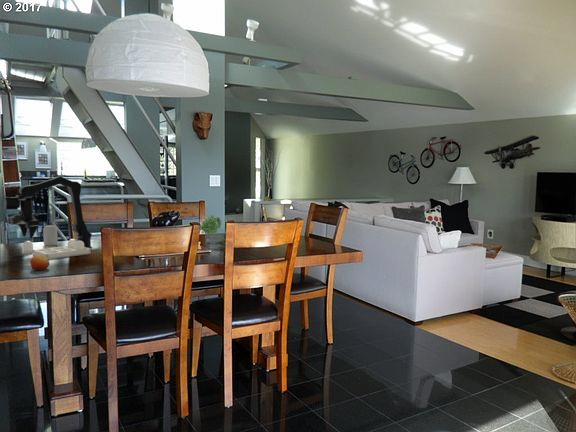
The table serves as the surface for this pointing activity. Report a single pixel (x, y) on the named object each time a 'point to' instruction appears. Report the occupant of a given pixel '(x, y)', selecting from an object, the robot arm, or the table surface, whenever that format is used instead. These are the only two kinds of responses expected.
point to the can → (50, 235)
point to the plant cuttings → (211, 226)
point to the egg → (27, 247)
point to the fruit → (39, 263)
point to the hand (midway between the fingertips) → (27, 237)
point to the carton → (64, 250)
